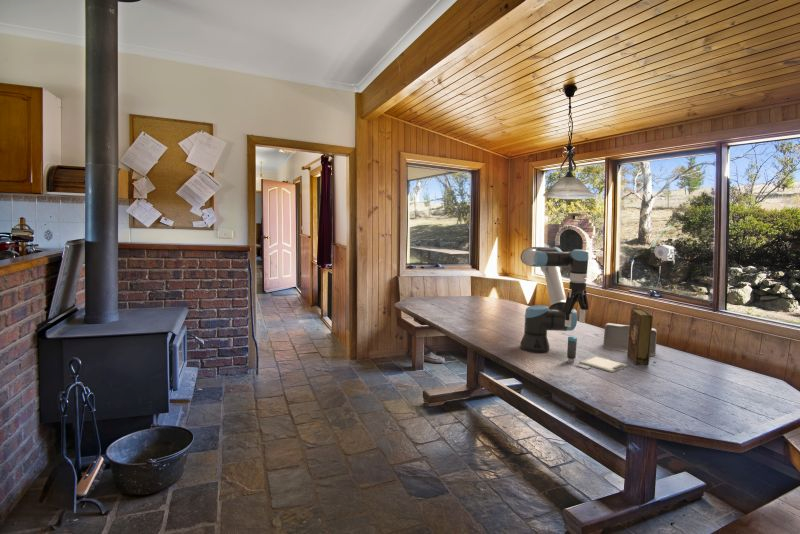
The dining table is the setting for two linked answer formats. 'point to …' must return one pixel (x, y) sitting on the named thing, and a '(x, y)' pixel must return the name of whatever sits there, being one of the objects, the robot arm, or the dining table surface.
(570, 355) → the marker
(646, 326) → the book
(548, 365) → the dining table surface
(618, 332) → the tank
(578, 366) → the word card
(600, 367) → the cream square framed board
